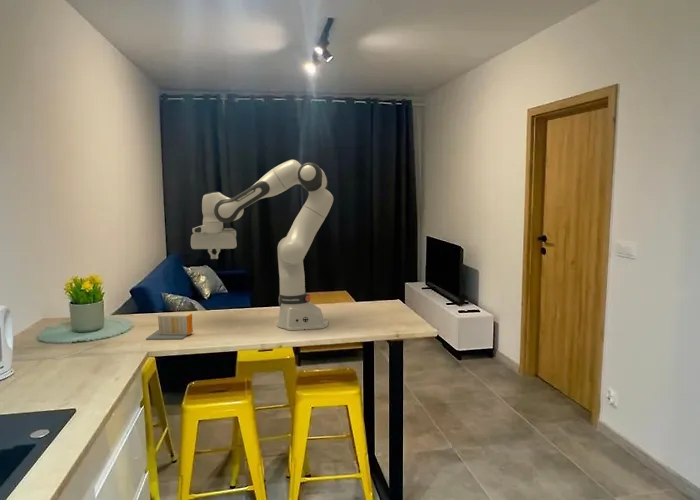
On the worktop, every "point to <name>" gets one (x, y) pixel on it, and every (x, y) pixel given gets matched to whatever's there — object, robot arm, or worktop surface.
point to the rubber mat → (165, 337)
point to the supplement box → (175, 323)
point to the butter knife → (68, 355)
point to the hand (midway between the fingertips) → (214, 258)
